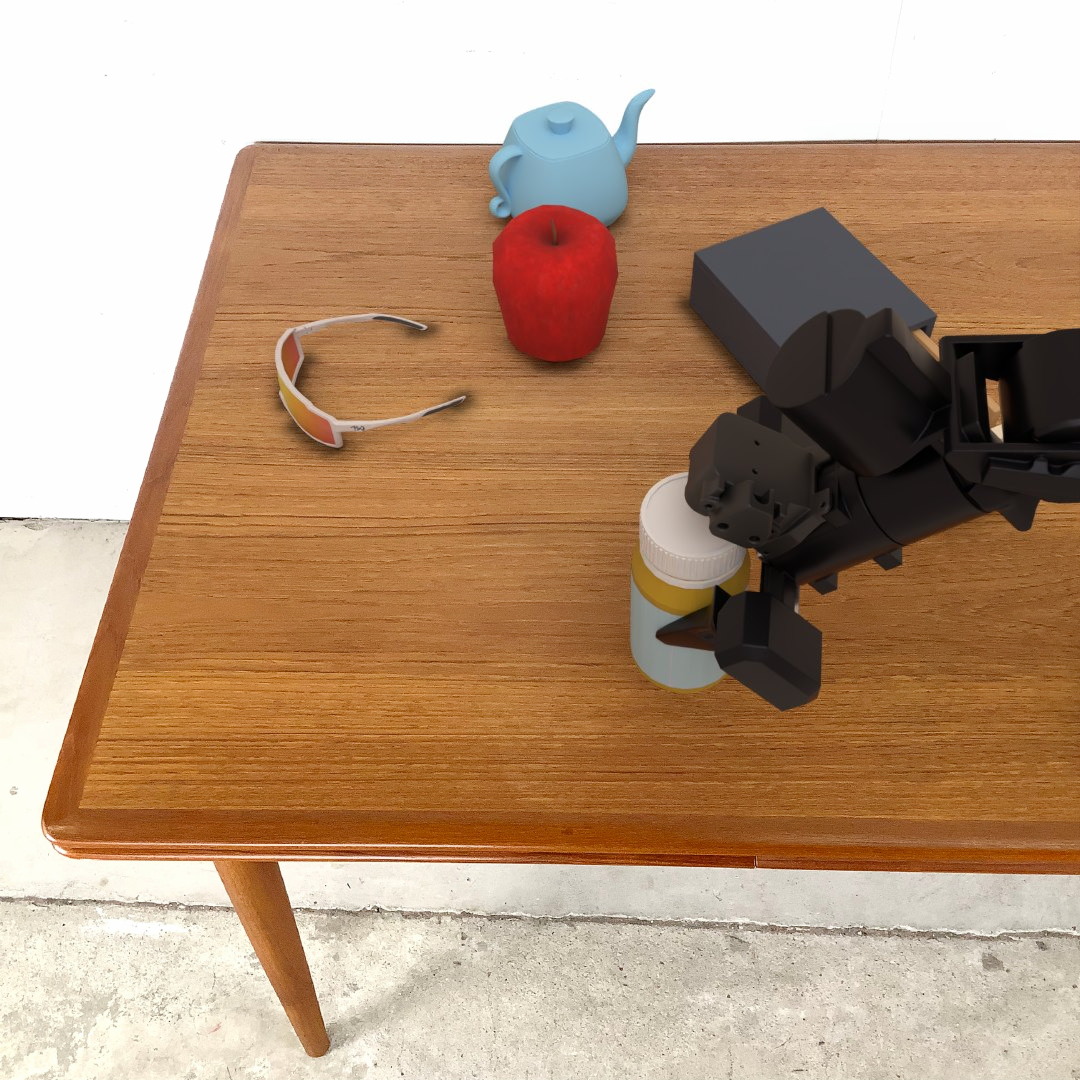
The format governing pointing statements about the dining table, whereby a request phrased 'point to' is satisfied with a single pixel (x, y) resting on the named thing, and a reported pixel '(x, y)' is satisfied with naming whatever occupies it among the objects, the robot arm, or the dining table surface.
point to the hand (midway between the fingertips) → (666, 589)
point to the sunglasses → (303, 410)
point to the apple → (555, 281)
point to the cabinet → (792, 286)
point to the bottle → (678, 585)
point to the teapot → (566, 161)
